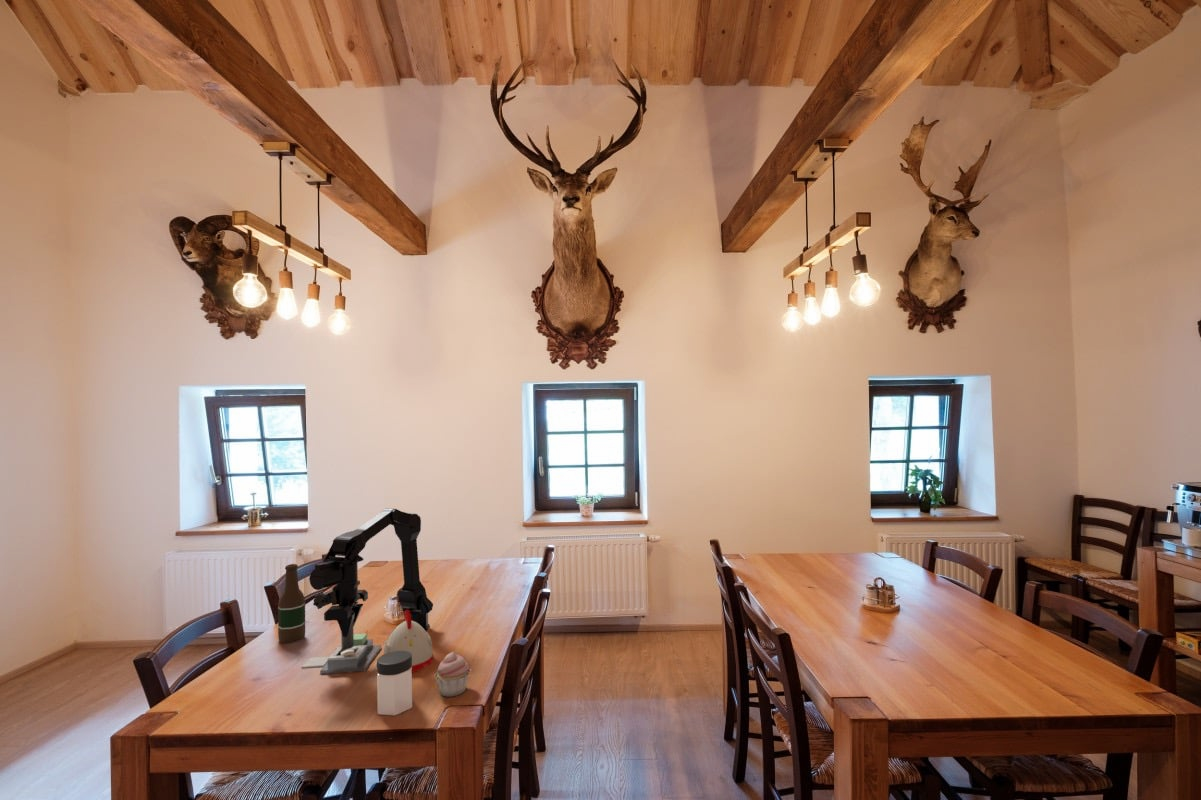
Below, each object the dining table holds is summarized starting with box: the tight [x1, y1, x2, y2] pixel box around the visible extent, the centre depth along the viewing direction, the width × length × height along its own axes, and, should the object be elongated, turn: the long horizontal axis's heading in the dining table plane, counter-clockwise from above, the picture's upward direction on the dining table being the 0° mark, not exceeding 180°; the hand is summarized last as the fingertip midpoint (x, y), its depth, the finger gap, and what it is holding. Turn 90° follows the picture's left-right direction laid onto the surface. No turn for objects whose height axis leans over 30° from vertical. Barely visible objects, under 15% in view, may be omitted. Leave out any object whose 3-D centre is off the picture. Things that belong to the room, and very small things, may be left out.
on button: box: [354, 633, 368, 646], centre depth 168 cm, size 4×4×2 cm
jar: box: [376, 651, 413, 717], centre depth 136 cm, size 9×8×12 cm
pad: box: [301, 656, 329, 669], centre depth 162 cm, size 6×6×1 cm
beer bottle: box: [277, 563, 306, 644], centre depth 182 cm, size 8×8×24 cm
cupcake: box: [433, 651, 472, 698], centre depth 143 cm, size 9×9×10 cm
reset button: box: [341, 650, 354, 655], centre depth 160 cm, size 4×4×1 cm
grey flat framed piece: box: [319, 638, 382, 675], centre depth 163 cm, size 12×16×4 cm
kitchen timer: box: [382, 609, 434, 672], centre depth 161 cm, size 14×14×15 cm
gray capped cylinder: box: [340, 610, 355, 649], centre depth 160 cm, size 4×4×10 cm
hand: (347, 634), depth 160 cm, fingers closed on gray capped cylinder, 3 cm apart
